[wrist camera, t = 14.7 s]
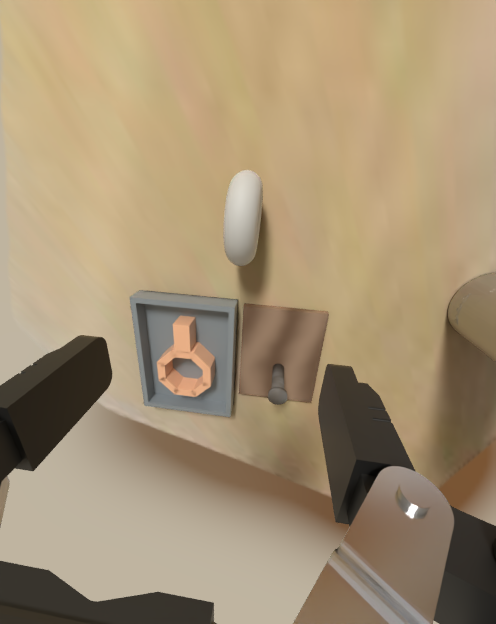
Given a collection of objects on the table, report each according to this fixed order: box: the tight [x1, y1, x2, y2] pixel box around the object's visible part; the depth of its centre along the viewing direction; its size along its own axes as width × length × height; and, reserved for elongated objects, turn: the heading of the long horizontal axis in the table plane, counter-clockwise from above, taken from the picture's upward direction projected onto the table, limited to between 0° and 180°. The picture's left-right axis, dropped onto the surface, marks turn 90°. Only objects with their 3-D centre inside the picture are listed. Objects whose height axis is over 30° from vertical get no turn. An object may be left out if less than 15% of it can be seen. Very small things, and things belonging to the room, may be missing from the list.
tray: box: [130, 290, 238, 417], centre depth 42 cm, size 15×20×3 cm
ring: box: [157, 316, 215, 397], centre depth 42 cm, size 8×13×3 cm, turn 177°
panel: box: [239, 304, 329, 405], centre depth 38 cm, size 12×16×8 cm
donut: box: [224, 170, 263, 266], centre depth 30 cm, size 10×4×10 cm, turn 175°
